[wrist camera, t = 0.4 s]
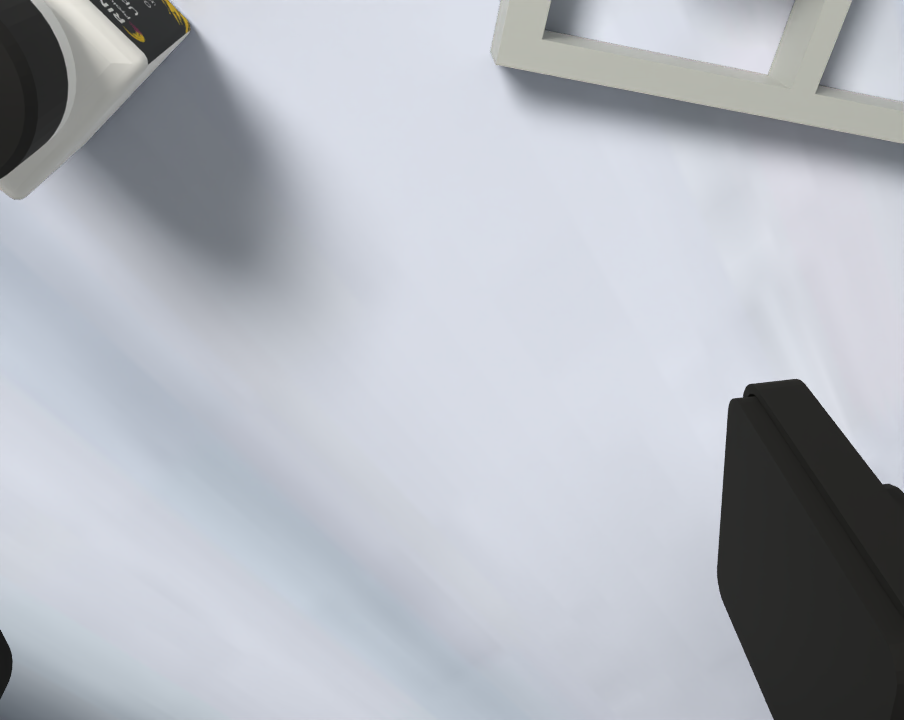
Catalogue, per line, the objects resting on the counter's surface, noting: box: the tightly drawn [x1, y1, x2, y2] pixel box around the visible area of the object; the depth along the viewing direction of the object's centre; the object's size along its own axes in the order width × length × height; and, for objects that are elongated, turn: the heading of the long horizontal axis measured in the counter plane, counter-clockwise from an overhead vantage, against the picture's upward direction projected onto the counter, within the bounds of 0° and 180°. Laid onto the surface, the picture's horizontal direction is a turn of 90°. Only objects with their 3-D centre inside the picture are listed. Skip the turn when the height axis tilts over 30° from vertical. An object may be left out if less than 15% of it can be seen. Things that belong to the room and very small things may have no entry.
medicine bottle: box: [0, 0, 190, 200], centre depth 28 cm, size 7×7×12 cm
